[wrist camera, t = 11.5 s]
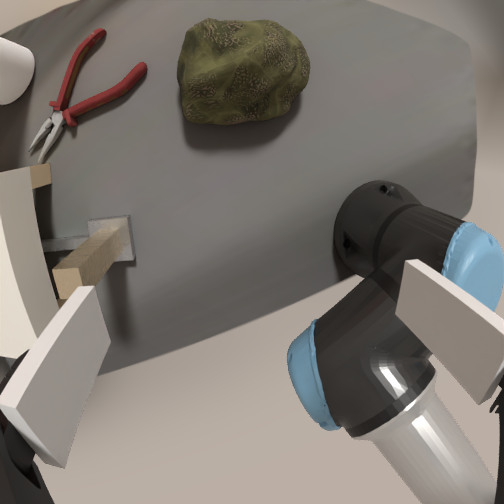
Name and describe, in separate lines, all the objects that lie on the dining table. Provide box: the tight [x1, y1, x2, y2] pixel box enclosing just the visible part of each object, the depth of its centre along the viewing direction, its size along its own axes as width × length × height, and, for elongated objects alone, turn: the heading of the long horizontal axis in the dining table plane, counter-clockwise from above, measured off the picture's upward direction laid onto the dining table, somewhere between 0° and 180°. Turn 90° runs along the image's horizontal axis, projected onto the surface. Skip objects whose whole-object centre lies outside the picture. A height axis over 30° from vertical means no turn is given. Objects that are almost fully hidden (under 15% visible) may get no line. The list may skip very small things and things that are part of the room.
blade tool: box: [41, 215, 136, 299], centre depth 30 cm, size 26×10×15 cm, turn 92°
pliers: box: [28, 28, 147, 163], centre depth 30 cm, size 12×20×3 cm, turn 133°
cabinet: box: [0, 163, 68, 358], centre depth 30 cm, size 14×24×13 cm, turn 2°
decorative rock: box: [177, 18, 310, 125], centre depth 29 cm, size 15×16×10 cm
